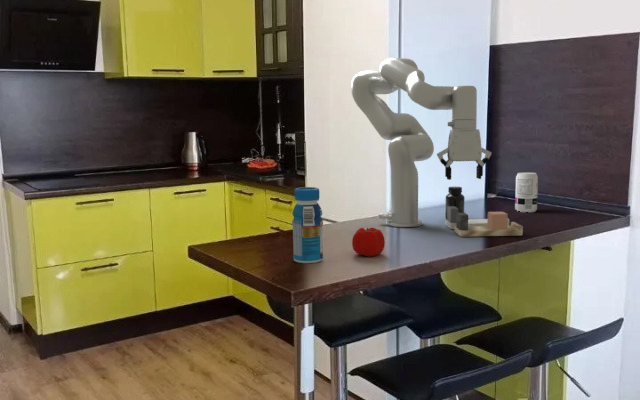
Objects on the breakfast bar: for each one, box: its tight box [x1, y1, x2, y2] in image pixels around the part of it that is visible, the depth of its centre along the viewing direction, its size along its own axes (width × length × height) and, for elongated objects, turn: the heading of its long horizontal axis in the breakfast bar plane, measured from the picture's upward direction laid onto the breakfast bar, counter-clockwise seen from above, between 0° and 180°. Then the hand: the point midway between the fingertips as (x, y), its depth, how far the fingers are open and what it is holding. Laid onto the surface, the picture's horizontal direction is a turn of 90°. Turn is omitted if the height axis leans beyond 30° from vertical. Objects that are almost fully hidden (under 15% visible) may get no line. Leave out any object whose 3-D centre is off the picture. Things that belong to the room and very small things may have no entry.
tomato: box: [351, 227, 386, 258], centre depth 178 cm, size 9×9×8 cm
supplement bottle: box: [444, 186, 466, 221], centre depth 231 cm, size 7×7×12 cm
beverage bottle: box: [291, 186, 324, 264], centre depth 171 cm, size 8×8×20 cm
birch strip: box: [453, 211, 524, 238], centre depth 204 cm, size 20×8×7 cm, turn 92°
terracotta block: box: [486, 211, 509, 230], centre depth 204 cm, size 5×5×5 cm
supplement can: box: [514, 172, 539, 213], centre depth 247 cm, size 8×8×15 cm
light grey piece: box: [445, 206, 510, 230], centre depth 217 cm, size 20×8×7 cm, turn 92°
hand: (463, 178), depth 201 cm, fingers open, 9 cm apart
